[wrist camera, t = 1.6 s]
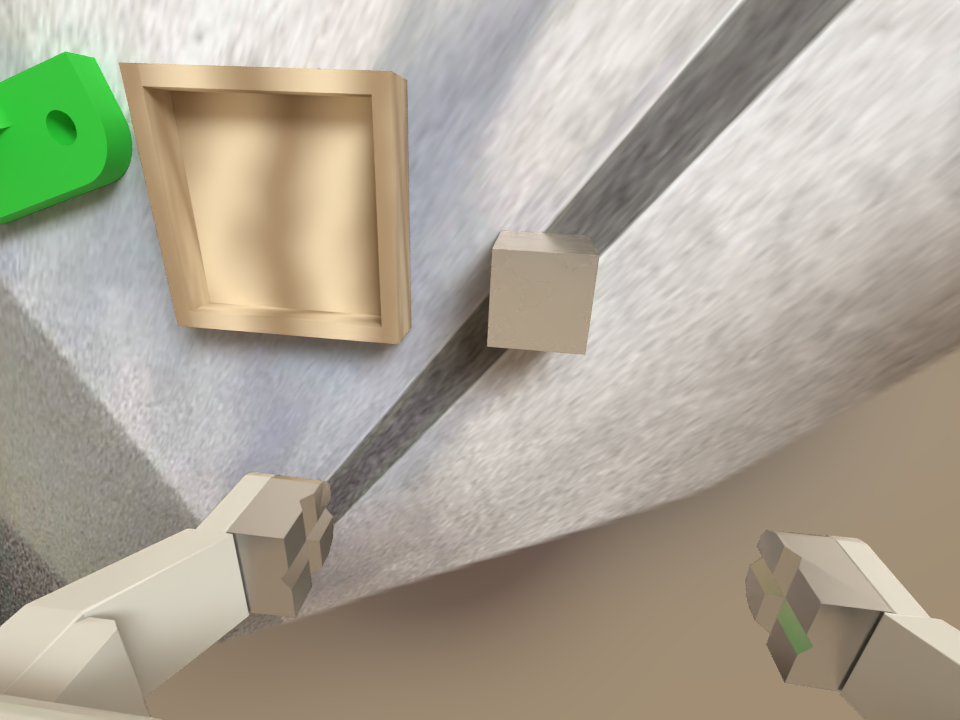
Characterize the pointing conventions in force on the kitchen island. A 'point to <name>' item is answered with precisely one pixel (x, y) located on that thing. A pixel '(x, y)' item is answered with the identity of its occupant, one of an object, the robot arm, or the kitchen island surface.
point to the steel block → (541, 291)
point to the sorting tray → (279, 196)
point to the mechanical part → (58, 135)
